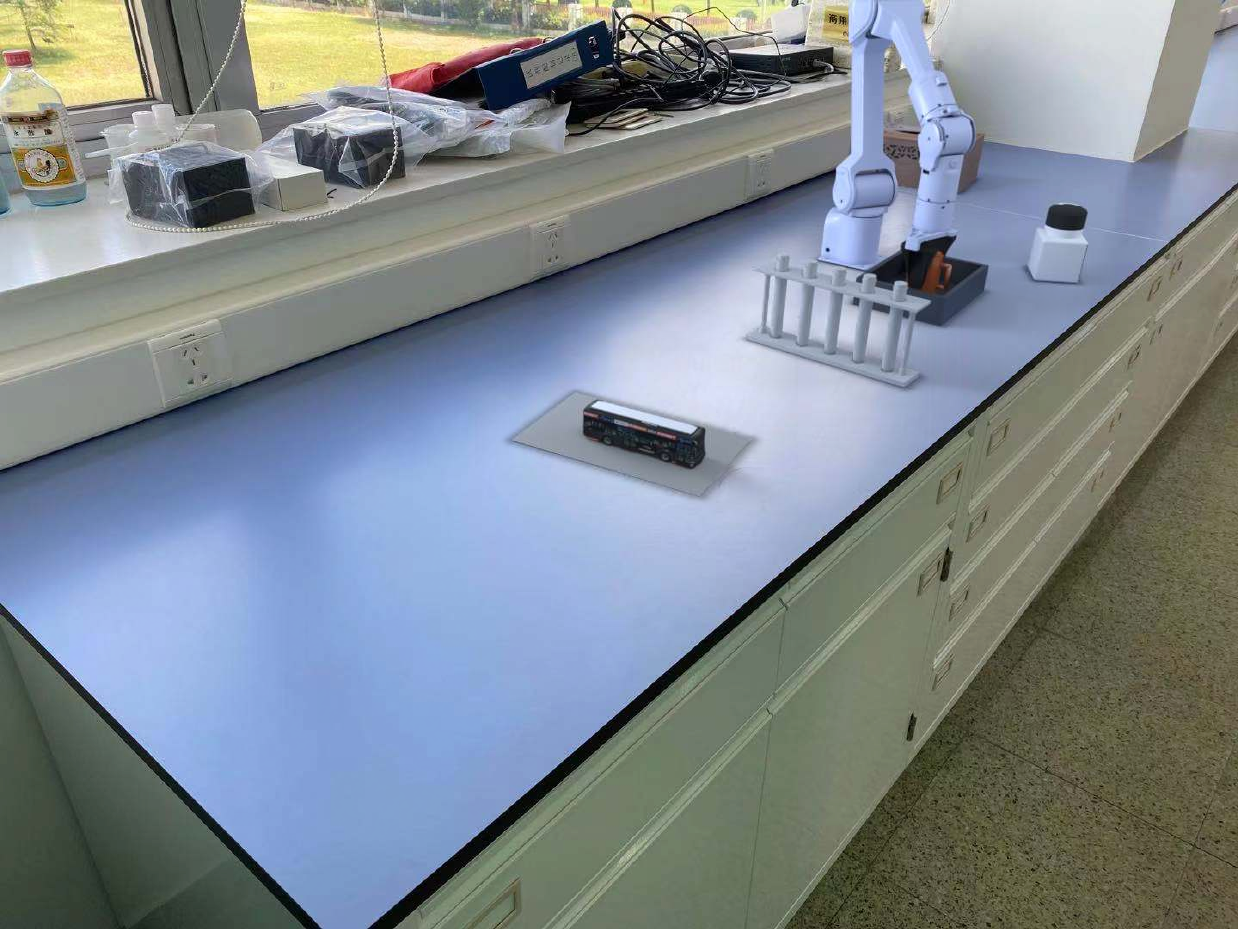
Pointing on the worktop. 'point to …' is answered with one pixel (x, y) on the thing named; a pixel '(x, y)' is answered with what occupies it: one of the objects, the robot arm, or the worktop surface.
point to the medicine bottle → (1060, 245)
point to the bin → (944, 304)
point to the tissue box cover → (906, 155)
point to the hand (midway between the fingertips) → (921, 282)
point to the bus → (635, 442)
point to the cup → (935, 275)
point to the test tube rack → (838, 319)
